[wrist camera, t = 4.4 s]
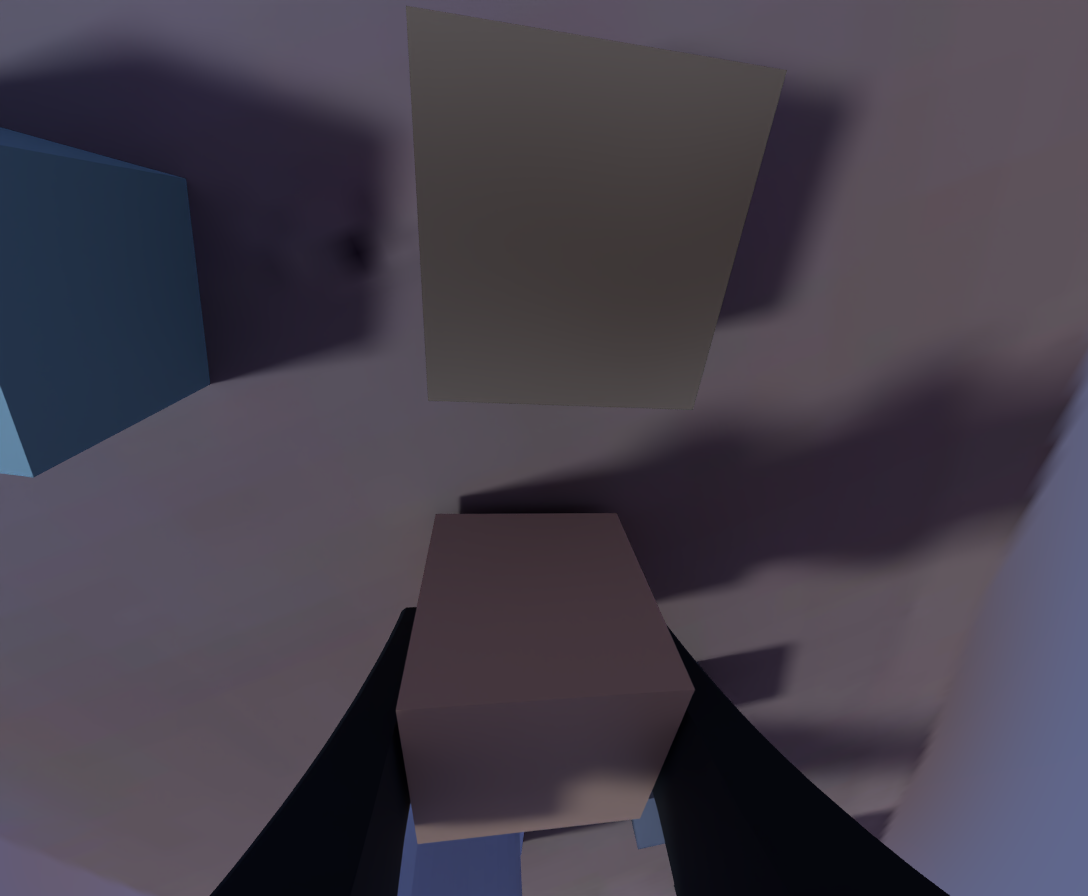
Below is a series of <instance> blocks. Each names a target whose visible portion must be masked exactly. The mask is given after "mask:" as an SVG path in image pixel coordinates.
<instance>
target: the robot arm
mask: <svg viewBox="0 0 1088 896" xmlns="http://www.w3.org/2000/svg"><path fill="white" fill-rule="evenodd" d="M416 609H417V607H410V608H405V609H404V610H402V612H401V614H400V616H399V619H398V621H397V623H396V625H395V627H394V629H393V631H392V633H391V635H390V637H389V639H388V641H387V643H386V645H385V647H384V649H383V651H382V652H381V654H380V656H379V658H378V660H377V662H376V663H375V665H374V667H373V669H372V670H371V672H370V674H369V675H368V677H367V679H366V681H365V682H364V684H363V686H362V687H361V689H360V691H359V693H358V694H357V696H356V698H355V699H354V701H353V702H352V704H351V706H350V707H349V709H348V710H347V712H346V713H345V715H344V716H343V718H342V719H341V721H340V723H339V724H338V726H337V727H336V729H335V730H334V732H333V733H332V735H331V736H330V738H329V739H328V741H327V743H326V744H325V745H324V747H323V748H322V750H321V751H320V753H319V754H318V756H317V757H316V759H315V760H314V761H313V763H312V764H311V766H310V767H309V769H308V770H307V771H306V773H305V774H304V776H303V777H302V778H301V780H300V781H299V782H298V784H297V785H296V787H295V788H294V789H293V791H292V792H291V793H290V795H289V796H288V798H287V799H286V800H285V802H284V803H283V804H282V806H281V807H280V808H279V809H278V811H277V812H276V813H275V815H274V816H273V817H272V819H271V820H270V821H269V822H268V824H267V825H266V826H265V828H264V829H263V830H262V832H261V833H260V834H259V835H258V837H257V838H256V839H255V841H254V842H253V843H252V844H251V846H250V847H249V848H248V850H247V851H246V852H245V853H244V855H243V856H242V857H241V858H240V860H239V861H238V862H237V863H236V865H235V866H234V867H233V868H232V870H231V871H230V872H229V873H228V874H227V876H226V877H225V878H224V879H223V881H222V882H221V883H220V884H219V885H218V886H217V888H216V889H215V890H214V891H213V892H212V894H211V895H210V896H522V882H521V859H520V855H521V852H522V844H523V836H524V832H519V833H511V834H502V835H493V836H484V837H476V838H467V839H458V840H450V841H441V842H432V843H424V844H417V838H416V832H415V825H414V819H413V813H412V807H411V801H410V795H409V789H408V783H407V777H406V770H405V764H404V758H403V752H402V746H401V740H400V734H399V728H398V722H397V715H396V706H397V702H398V697H399V692H400V687H401V682H402V677H403V672H404V667H405V662H406V658H407V653H408V648H409V643H410V638H411V633H412V628H413V623H414V619H415V614H416ZM667 628H668V630H669V632H670V634H671V637H672V639H673V641H674V643H675V646H676V648H677V650H678V652H679V655H680V657H681V659H682V661H683V664H684V666H685V668H686V670H687V673H688V675H689V677H690V679H691V682H692V684H693V686H694V688H695V690H694V693H693V695H692V698H691V700H690V702H689V705H688V707H687V709H686V712H685V714H684V716H683V719H682V721H681V723H680V726H679V728H678V730H677V733H676V735H675V737H674V740H673V742H672V745H671V747H670V749H669V752H668V754H667V756H666V759H665V761H664V763H663V766H662V768H661V770H660V773H659V775H658V777H657V780H656V782H655V785H654V787H653V789H652V792H653V796H654V799H655V803H656V806H657V810H658V814H659V818H660V823H661V827H662V831H663V835H664V840H665V844H666V848H667V853H668V857H669V861H670V866H671V870H672V875H673V880H674V884H675V889H676V893H677V896H950V895H948V894H947V893H946V892H944V891H943V890H942V889H940V888H939V887H938V886H936V885H935V884H934V883H932V882H931V881H930V880H928V879H927V878H926V877H924V876H923V875H922V874H920V873H919V872H918V871H917V870H915V869H914V868H912V867H911V866H910V865H909V864H908V863H906V862H905V861H904V860H903V859H901V858H900V857H899V856H898V855H896V854H895V853H894V852H893V851H892V850H890V849H889V848H888V847H886V846H885V845H884V844H883V843H882V842H880V841H879V840H878V839H877V838H876V837H874V836H873V835H872V834H871V833H869V832H868V831H867V830H866V829H865V828H863V827H862V826H861V825H860V824H859V823H858V822H857V821H855V820H854V819H853V818H852V817H851V816H850V815H848V814H847V813H846V812H845V811H844V810H843V809H842V808H840V807H839V806H838V805H837V804H836V803H835V802H834V801H832V800H831V799H830V798H829V797H828V796H827V795H826V794H824V793H823V792H822V791H821V790H820V789H819V788H817V787H816V786H815V785H814V784H813V783H812V782H811V781H810V780H809V779H807V778H806V777H805V776H804V775H803V774H802V773H801V772H800V771H799V770H798V769H797V768H796V767H795V766H794V765H793V764H792V763H790V762H789V761H788V760H787V759H786V758H785V757H784V756H783V755H782V754H781V753H780V752H779V751H778V750H777V749H776V748H775V747H774V746H773V745H772V744H771V743H770V742H769V741H768V740H767V739H766V738H765V737H764V736H763V735H762V734H761V733H760V732H759V731H758V730H757V729H756V728H755V727H754V726H753V725H752V724H751V723H750V722H749V721H748V720H747V719H746V718H745V717H744V715H743V714H742V713H741V712H740V711H739V710H738V709H737V708H736V707H735V706H734V705H733V703H732V702H731V701H730V700H729V699H728V698H727V697H726V696H725V695H724V694H723V692H722V691H721V690H720V689H719V688H718V687H717V686H716V684H715V683H714V682H713V681H712V680H711V679H710V678H709V676H708V675H707V674H706V673H705V672H704V670H703V669H702V668H701V667H700V666H699V664H698V663H697V662H696V661H695V660H694V659H693V657H692V656H691V655H690V654H689V652H688V651H687V650H686V649H685V648H684V646H683V645H682V644H681V643H680V641H679V640H678V639H677V637H676V636H675V635H674V634H673V632H672V631H671V630H670V629H669V627H668V626H667Z"/></svg>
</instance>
